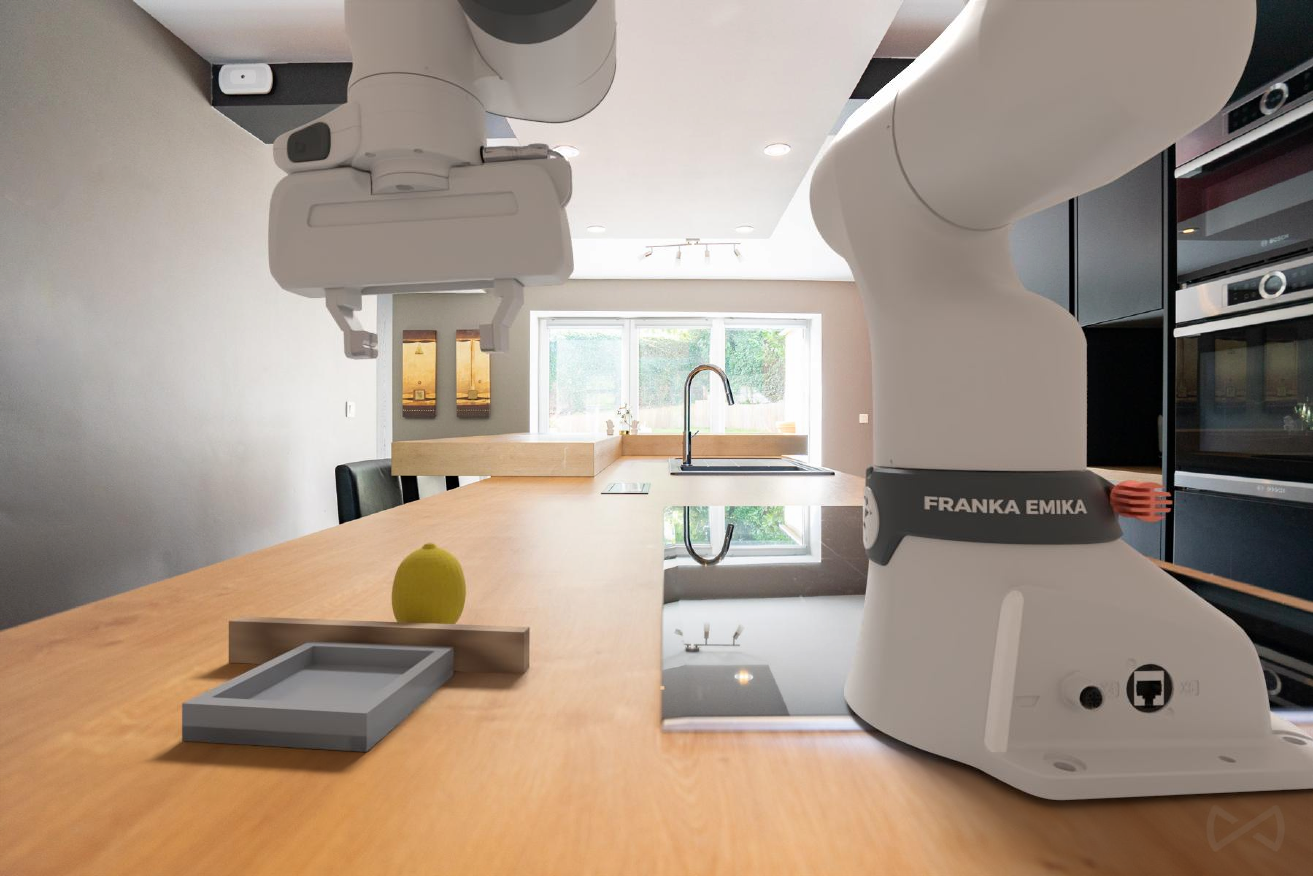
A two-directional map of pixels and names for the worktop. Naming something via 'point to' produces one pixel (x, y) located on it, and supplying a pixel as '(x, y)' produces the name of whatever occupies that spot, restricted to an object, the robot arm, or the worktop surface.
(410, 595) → the lemon
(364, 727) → the dish
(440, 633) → the rail
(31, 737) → the worktop surface
